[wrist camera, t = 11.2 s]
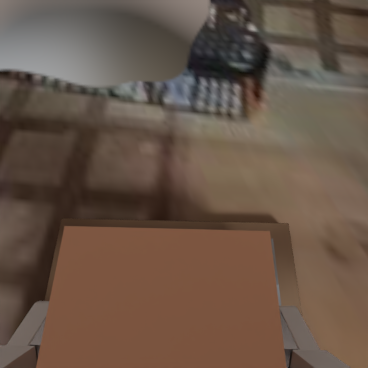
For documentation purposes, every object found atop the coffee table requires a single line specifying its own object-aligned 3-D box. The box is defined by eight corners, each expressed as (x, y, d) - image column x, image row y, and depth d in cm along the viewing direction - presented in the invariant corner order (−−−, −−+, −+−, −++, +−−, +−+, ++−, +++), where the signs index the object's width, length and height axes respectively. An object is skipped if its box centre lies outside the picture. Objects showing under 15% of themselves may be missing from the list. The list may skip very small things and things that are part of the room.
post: (124, 298, 14) (64, 226, 6) (214, 300, 14) (269, 231, 6) (113, 408, 12) (7, 508, 4) (217, 409, 12) (303, 508, 4)
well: (65, 223, 23) (40, 192, 19) (284, 228, 23) (309, 199, 19) (4, 529, 16) (-62, 598, 11) (326, 530, 16) (385, 599, 12)
